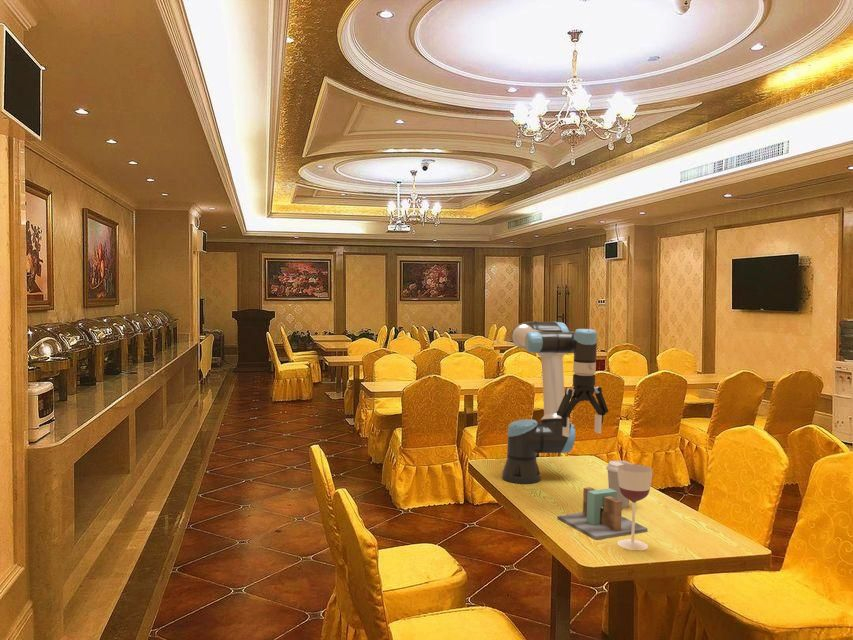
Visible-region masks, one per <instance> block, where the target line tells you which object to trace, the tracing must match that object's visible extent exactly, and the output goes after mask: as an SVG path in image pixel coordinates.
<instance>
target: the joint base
mask: <svg viewBox="0 0 853 640" xmlns="http://www.w3.org/2000/svg"><path fill="white" fill-rule="evenodd" d="M593 490H596V489H595V488H592V487H590V486H588V487H583V491H582V492H583V496H582V497H583V499H582V512H581V511H580V512H575V513H574V512H573V513H568V514H561V515H559V514H558V515H557V516H556V517H557V520H559V521H561V522H562V523H565V524H566V525H568V526H570V527H571V528H573V529H575V530H577V531H579V532H581V533H583V534H584V535H586V536H588V537H590V538H591V539H593V540H595V541H596V540H597V541H598V540H599V541H600V540H603V539H610V538H617V537H622V536H623V537H624V536H628V535H631V532H632V519H629V518H626V517H624V516H622V515H623V514H622V513H623V512H622V511H623V510H622V509H623V508H622V501H620V500H618V499H616V498H613V497H611V496H608V497H604V509H603V507H600V525H592V524H590V523H588V522H587V491H593ZM646 532H648V528H647V527H646V526H643V525H641V524H639V523H637V522H635V534H641V533H646Z"/></svg>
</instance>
